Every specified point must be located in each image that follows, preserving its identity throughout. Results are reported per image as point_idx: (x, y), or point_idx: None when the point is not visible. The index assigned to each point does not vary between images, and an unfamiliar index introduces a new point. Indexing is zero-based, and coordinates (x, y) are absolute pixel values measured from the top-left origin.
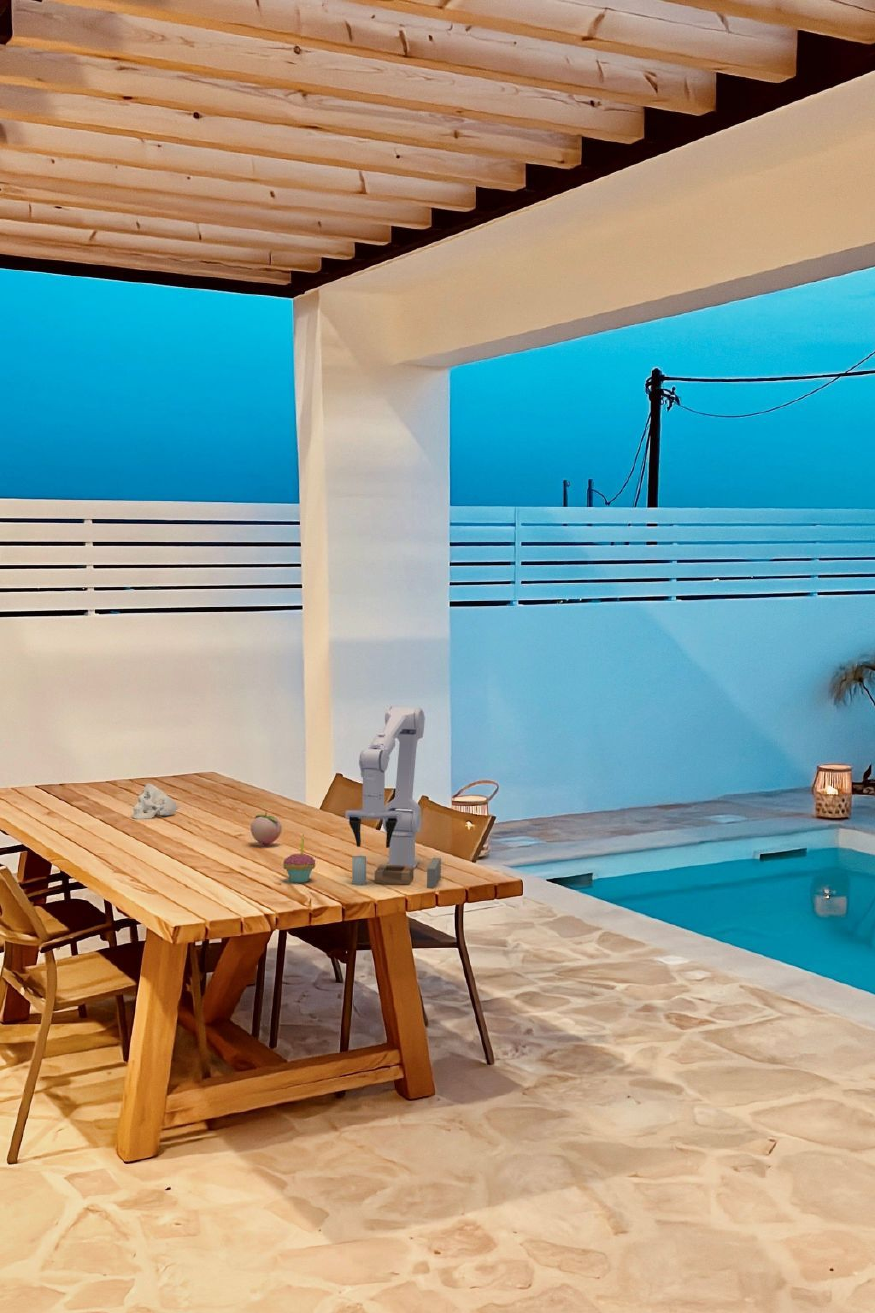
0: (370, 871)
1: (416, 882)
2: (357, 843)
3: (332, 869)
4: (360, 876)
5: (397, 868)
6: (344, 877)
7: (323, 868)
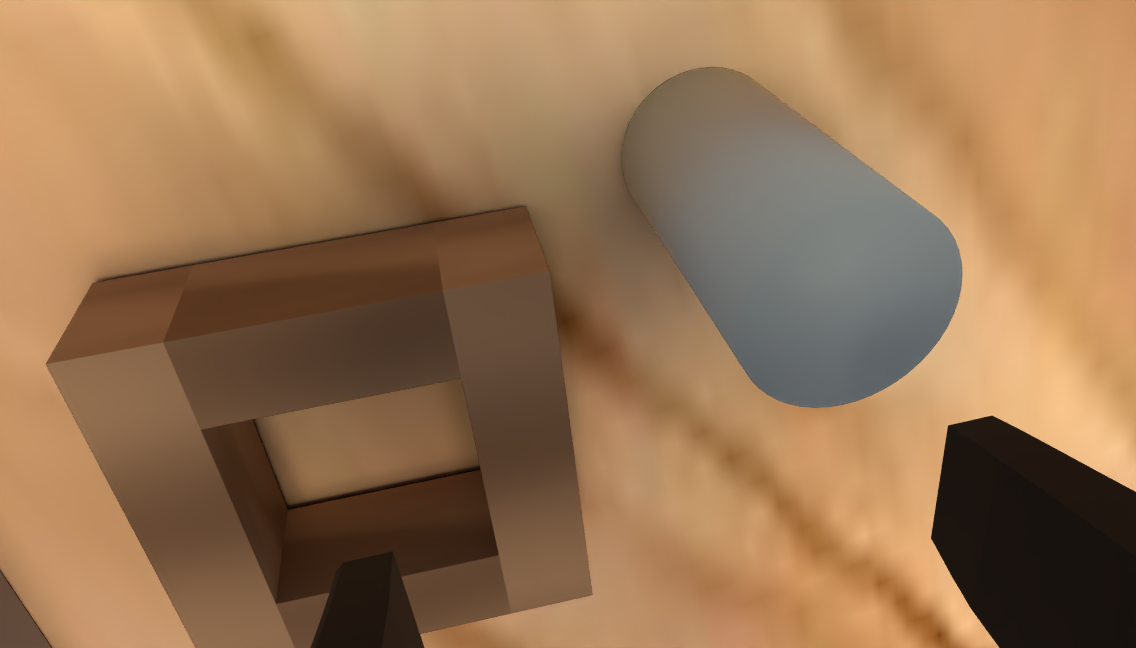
0: (697, 615)
1: None
2: (1035, 452)
3: None
4: (707, 112)
5: None
6: None
7: None
